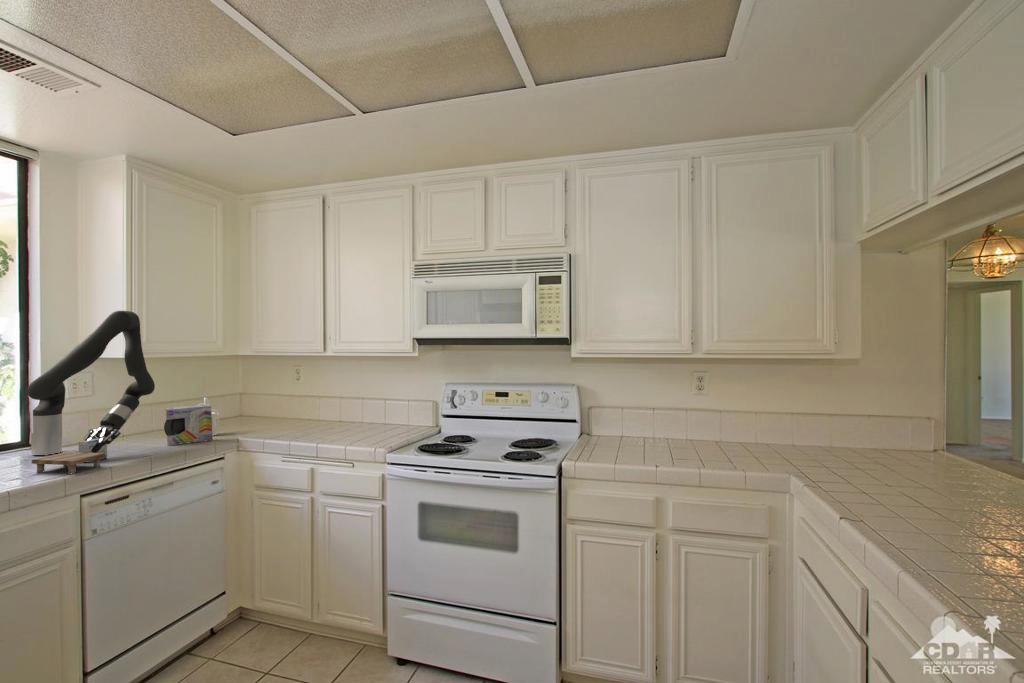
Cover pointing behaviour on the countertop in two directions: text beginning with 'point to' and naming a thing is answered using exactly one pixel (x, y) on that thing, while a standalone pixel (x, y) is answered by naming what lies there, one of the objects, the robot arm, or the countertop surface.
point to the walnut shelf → (68, 460)
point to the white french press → (206, 402)
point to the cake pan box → (188, 424)
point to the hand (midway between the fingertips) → (88, 451)
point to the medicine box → (89, 444)
